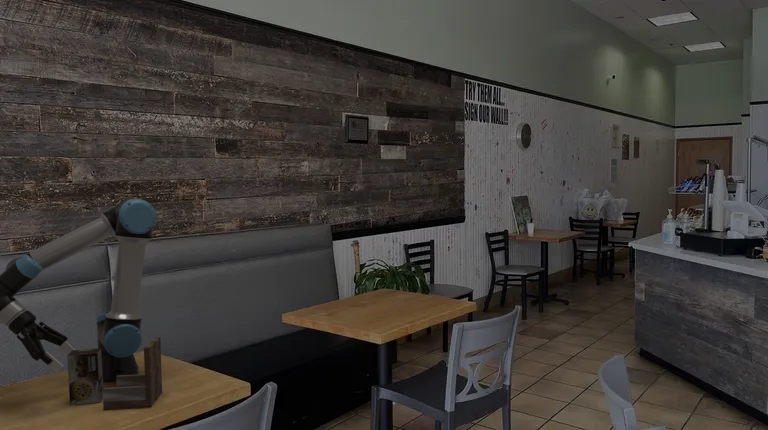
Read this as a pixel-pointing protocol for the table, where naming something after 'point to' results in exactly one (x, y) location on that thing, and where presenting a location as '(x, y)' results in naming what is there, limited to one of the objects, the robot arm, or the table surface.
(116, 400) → the walnut shelf slot
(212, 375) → the table surface
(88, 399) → the coffee box
